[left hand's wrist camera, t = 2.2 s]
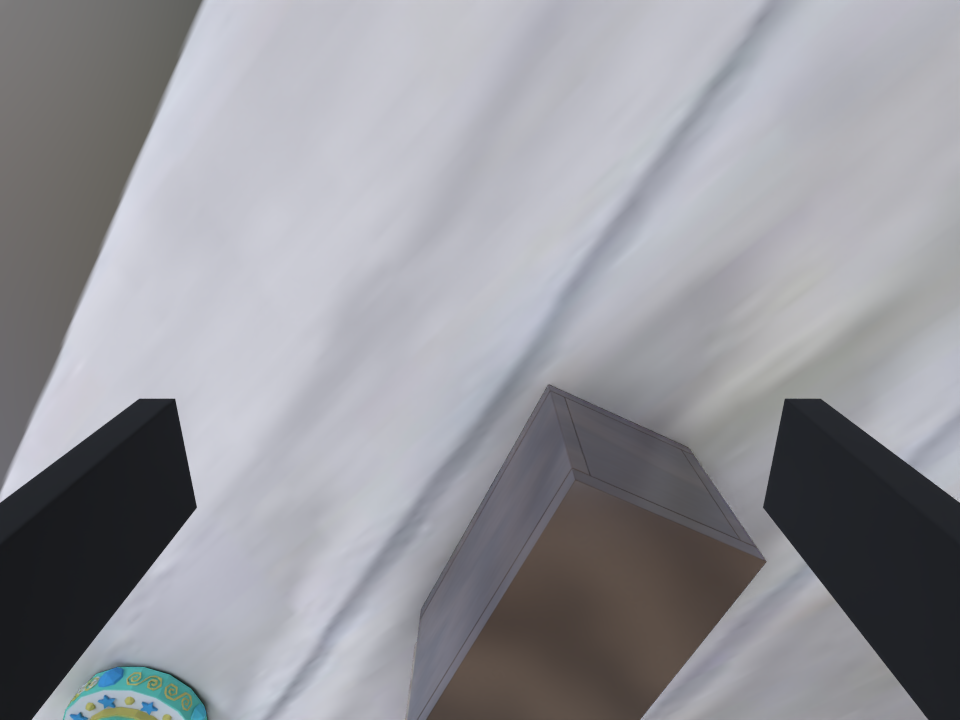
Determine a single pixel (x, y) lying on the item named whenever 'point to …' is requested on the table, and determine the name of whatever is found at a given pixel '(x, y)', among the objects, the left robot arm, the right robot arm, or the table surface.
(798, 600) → the table surface
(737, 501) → the table surface
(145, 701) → the decorative hourglass
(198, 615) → the table surface
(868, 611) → the left robot arm
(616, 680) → the cabinet
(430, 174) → the table surface
